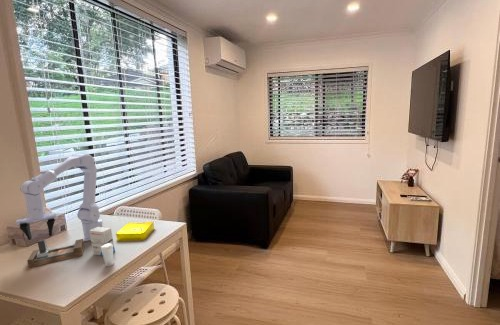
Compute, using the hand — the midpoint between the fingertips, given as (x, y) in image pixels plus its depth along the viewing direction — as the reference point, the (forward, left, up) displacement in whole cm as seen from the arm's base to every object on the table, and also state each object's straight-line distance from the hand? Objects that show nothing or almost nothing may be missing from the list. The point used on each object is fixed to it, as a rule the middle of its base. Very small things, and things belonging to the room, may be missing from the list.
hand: (40, 237), depth 126 cm
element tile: (-39, -6, -11) cm, 41 cm away
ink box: (-24, +8, -11) cm, 28 cm away
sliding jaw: (0, 0, -9) cm, 9 cm away
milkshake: (-26, +21, -11) cm, 35 cm away
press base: (-5, 0, -11) cm, 12 cm away
